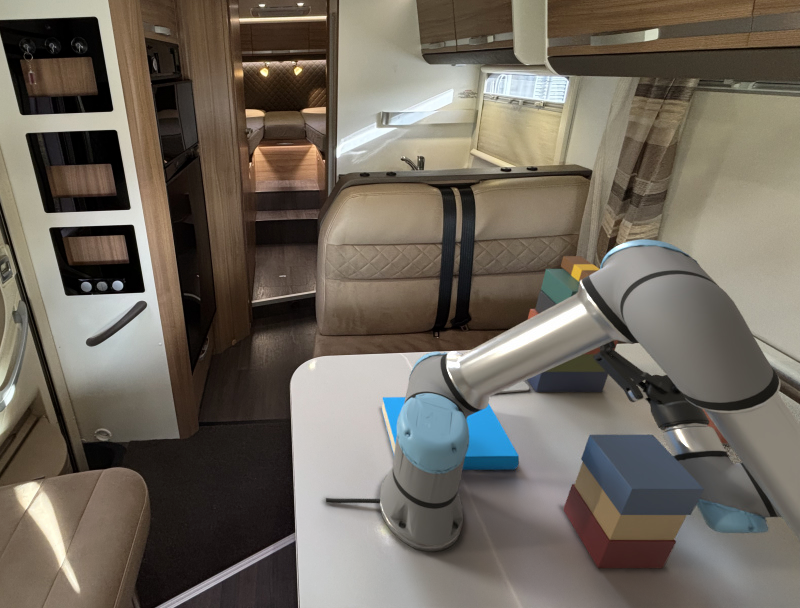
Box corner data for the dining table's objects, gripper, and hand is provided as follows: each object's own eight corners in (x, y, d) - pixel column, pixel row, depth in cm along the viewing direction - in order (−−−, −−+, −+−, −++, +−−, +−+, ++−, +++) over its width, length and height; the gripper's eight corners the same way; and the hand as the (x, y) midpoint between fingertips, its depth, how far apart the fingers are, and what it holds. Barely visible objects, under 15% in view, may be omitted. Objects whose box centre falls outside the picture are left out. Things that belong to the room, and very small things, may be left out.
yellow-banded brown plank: (636, 311, 91) (641, 299, 89) (614, 311, 91) (619, 299, 89) (578, 266, 109) (581, 255, 108) (560, 266, 109) (563, 255, 108)
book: (381, 397, 103) (484, 394, 103) (380, 410, 104) (481, 407, 105) (399, 460, 87) (521, 456, 87) (398, 474, 89) (517, 471, 89)
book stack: (602, 391, 109) (637, 291, 98) (535, 392, 109) (563, 291, 98) (575, 362, 119) (605, 268, 108) (515, 362, 120) (538, 268, 108)
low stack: (597, 568, 72) (632, 489, 65) (562, 509, 81) (589, 434, 74) (662, 568, 72) (704, 489, 65) (620, 509, 81) (652, 434, 74)
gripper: (604, 432, 80) (560, 327, 93) (737, 433, 80) (675, 327, 93) (628, 422, 74) (578, 311, 87) (773, 423, 74) (701, 312, 87)
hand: (628, 319), depth 90 cm, fingers open, 13 cm apart
